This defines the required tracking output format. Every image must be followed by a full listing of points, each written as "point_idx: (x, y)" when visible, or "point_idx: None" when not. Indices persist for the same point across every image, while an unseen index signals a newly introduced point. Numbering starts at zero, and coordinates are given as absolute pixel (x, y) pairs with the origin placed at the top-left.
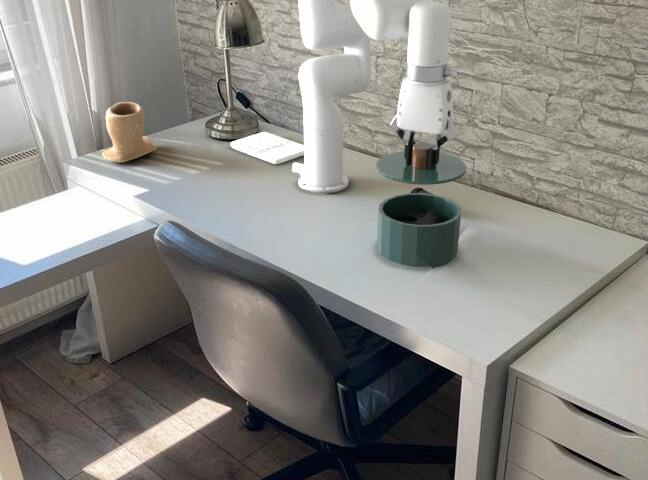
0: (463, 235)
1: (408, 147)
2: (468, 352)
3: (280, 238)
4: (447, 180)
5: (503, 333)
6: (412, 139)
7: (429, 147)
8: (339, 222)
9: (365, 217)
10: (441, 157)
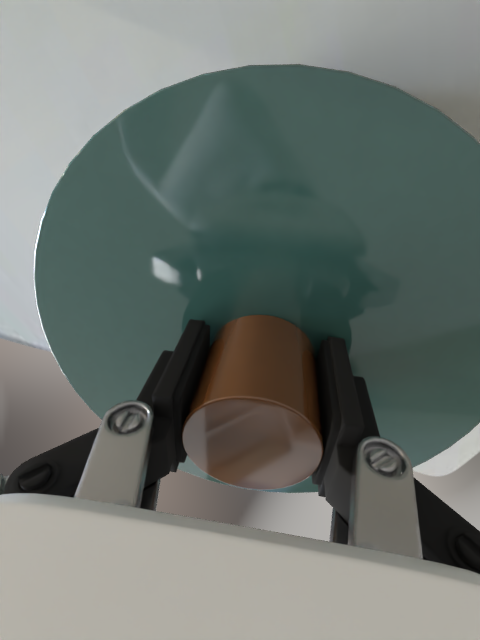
0: (397, 50)
1: (176, 463)
2: (419, 471)
3: (4, 272)
4: (416, 462)
5: (474, 433)
6: (157, 449)
7: (307, 462)
8: (37, 135)
9: (69, 59)
10: (355, 199)
